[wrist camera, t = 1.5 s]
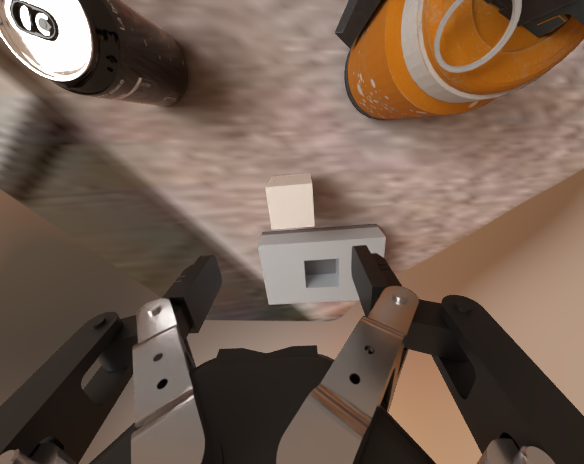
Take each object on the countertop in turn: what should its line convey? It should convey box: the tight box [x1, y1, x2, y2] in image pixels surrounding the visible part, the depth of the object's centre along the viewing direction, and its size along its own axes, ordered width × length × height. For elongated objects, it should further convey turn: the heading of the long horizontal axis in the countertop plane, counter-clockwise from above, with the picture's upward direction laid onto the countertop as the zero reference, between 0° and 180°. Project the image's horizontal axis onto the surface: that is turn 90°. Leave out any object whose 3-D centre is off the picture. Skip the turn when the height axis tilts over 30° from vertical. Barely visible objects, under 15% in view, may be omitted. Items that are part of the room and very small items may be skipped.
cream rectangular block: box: [265, 173, 315, 229], centre depth 25 cm, size 4×4×8 cm
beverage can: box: [0, 0, 188, 106], centre depth 18 cm, size 7×7×12 cm
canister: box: [335, 0, 584, 120], centre depth 14 cm, size 9×11×20 cm
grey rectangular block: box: [258, 224, 386, 305], centre depth 31 cm, size 16×10×4 cm, turn 96°
